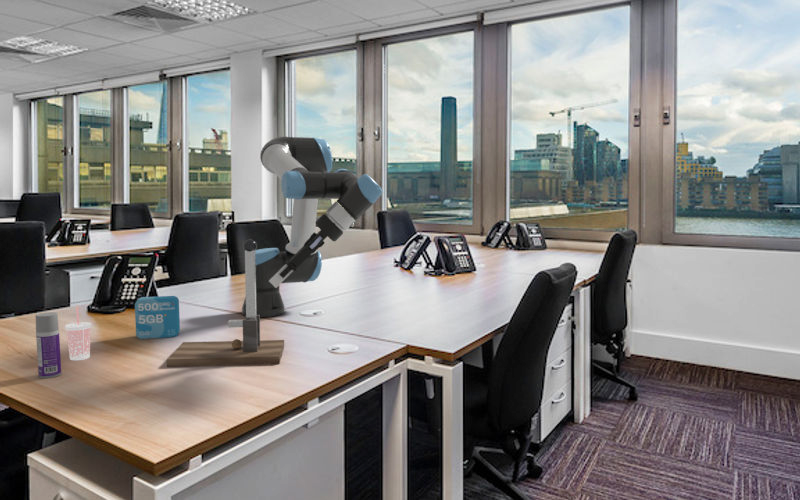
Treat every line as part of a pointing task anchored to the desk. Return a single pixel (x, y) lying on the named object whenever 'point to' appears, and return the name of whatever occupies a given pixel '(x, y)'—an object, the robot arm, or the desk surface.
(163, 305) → the data package
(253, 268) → the lever
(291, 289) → the desk surface
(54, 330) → the container
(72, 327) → the beverage cup
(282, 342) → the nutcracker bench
